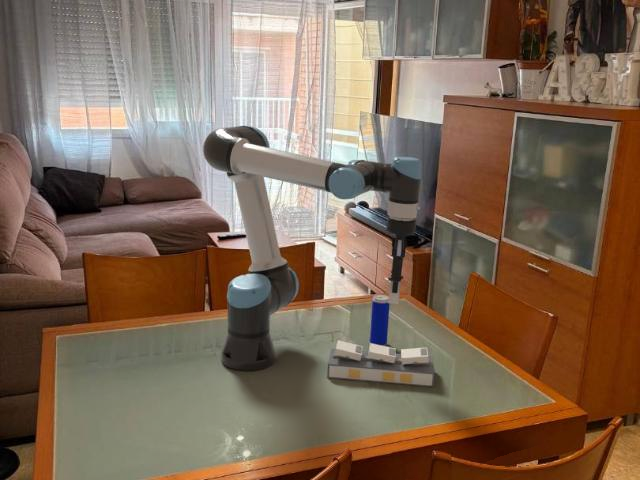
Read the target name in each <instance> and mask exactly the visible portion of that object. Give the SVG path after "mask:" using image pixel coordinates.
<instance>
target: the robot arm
mask: <svg viewBox="0 0 640 480" xmlns="http://www.w3.org/2000/svg"><path fill="white" fill-rule="evenodd" d="M202 151H203V156H204V159H205V161H206V163H208V164H209V166H210V167H211V168H213V169H215V170H218V171H220V172H225V173H226V176H227V178H228V179H229V180H230V181H232V182H233V183H234V187H235V190H236V191H235V192H236V196H237V197H236V198H237V200H238V205H239V210H240V214H241V219H242V223H243V228H244V234H245V237H246V241H247V242H246V243H247V246H248V251H249V254H250V258H251V264H250V265H249V268H247V269H248V273H246V274H241V275H238V276H236V277H234V278H233V279H232V280H231V281H230V282H229V284H228V286H227V293H226V300H227V333H226V338H225V340H224V343H223V346H222V349H221V352H220V355H221V357H220V360H221V363H222V364H223V365H225V366H226V367H227V368H229V369H233V370H235V371H244V372H245V371H247V372H248V371H260V370H263V369H266V368H268V367H270V366H272V365H273V364H274V363H275V361H276V355H277V354H276V347H275V345H274V343H273V340H272V337H271V333H270V332H271V331H270V328H271V325H270V324H271V316H272V315H273V314H276V313H277V312H278V311H280V310H281V309H283V308H286V307H287V306H288V305H289V304H291V303H292V301H294V299H295V298H296V297H297V295H298V292H299V288H300V287H299V285H300V284H299V283H300V282H299V279H298V276H297V274H296V272H295V271H293V269H292V268H290V267H289V264H288V260H287V259H285V258H283V257H282V256H281V252H280V245H279V242H278V238H277V233H276V228H275V223H274V219H273V218H274V217H273V213H272V209H271V206H270V199H269V195H268V191H267V186H266V181H265V178H268V179H271V180H276V181H280V182H285V183H287V184H288V183H289V184H294V185H296V186H297V185H298V186H301V187H304V188H305V187H306V188H311V189H312V190H313V189H314V190H318V191H322V192H327V193H330V194H332V195H333V196H334V197H335V198H336V199H339V200H351V199H352V200H353V199H354V198H356V197H358V196H360V195H363V194H366V193H368V192H380V193H388V194H389V195H388V196H389V197H388V206H387V213H386V214H387V216H388V217H387V218H386V227H385V228H386V231H387V232H388V233H390V234H392V235H393V234H395V237H394V236H393V237H392V238H391V256H392V264H391V270H390V273H391V275H390V277H388V281H389V291H388V297H389V301H388V303H390V305H392V304H393V305H399V300H400V292H401V284H402V283H401V282H402V280H403V279H404V276H403V275H402V270H403V263H404V258H405V257H406V250H407V248H408V247H407V246H408V238H406V237H405V236H410V235H413V234H415V233H416V226H417V220H416V218H417V214H418V211H419V210H420V209H421V206H419V199H420V198H419V195H420V188H421V181H422V161H421V160H420V159H419V158H416V157H412V156H411V157H410V156H395V157H393V158H392V162H391V163H385V162H377V161H371V160H365V159H352V160H349V162H348V163H347V164H344V163H339V162H335V161H331V160H326V159H321V158H317V157H313V156H307V155H303V154H298V153H294V152H289V151H285V150H282V149H276V148H272V147H270V142H269V140H268V137H267V135H266V134H265V133H264V132H263V131H262V130H260V129H259V128H258V127H254V126H252V125H251V126H250V125H239V126H230V127H220V128H216V129H215V130H213V131H211V132H210V133H208V135H207V137H206V138H205V140H204V143H203V148H202Z"/></svg>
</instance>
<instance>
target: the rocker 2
mask: <svg viewBox="0 0 640 480" xmlns="http://www.w3.org/2000/svg"><path fill="white" fill-rule="evenodd" d="M368 347H369V348H368V351H369V355H368V358H372V359H376V360H379V361H380V362H383V361H386V362H390V363H394V362H395V358H396V354H397V353H396V348H395V347H390V346H386V345H385V346H381V345H377V344H372V343H370V342H369V346H368Z"/></svg>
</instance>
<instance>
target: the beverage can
mask: <svg viewBox="0 0 640 480" xmlns="http://www.w3.org/2000/svg"><path fill="white" fill-rule="evenodd" d="M371 301H372V303H371V316H370V317H371V319H370V336H369V344H370V343H372V344H377V345H381V346H386V345H388V331H389V319H390V317H389V316H390V305H391V304H390V303H388V301H389V295H385V294H375V295H373V297H372V300H371Z"/></svg>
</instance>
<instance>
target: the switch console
mask: <svg viewBox="0 0 640 480" xmlns="http://www.w3.org/2000/svg"><path fill="white" fill-rule="evenodd" d="M335 351H336V348H331V349H330V353H329V357H328V361H327V369H326V370H327V374H326V375H327V377H326V378H327V379H328V378H329V379H338V380H348V381H359V382H360V381H361V382H371V383H372V382H373V383H374V382H375V383H383V384H384V383H386V384H393V385H394V384H395V385H396V384H397V385H407V386H418V387H430V388H431V387H432V388H434V386H435V385H434V383H435V375H436V374H435V365H434V360H433V359H434V358H433V356H429V355H428V360H429V363H417V365H414V364H402V359H401V353H396V358H395V362H394V363H390V362H386V361H383V362H380V361H379V360H376V359H372V358H368V355H369V350H368V351H367V350H362V356H361V360H360V361H359V360H355V359H350V358H349V359H346V357H342V356H338V355H335Z"/></svg>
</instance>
